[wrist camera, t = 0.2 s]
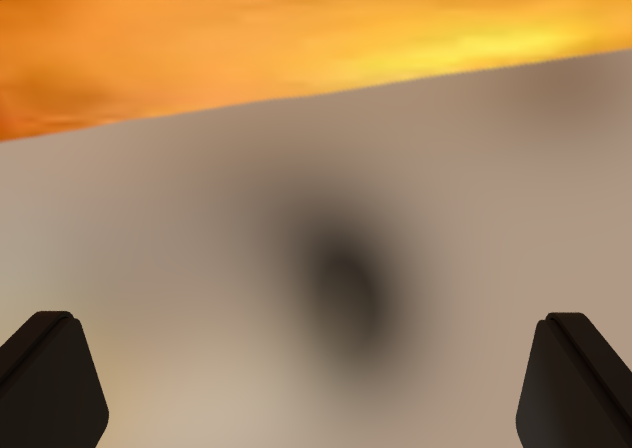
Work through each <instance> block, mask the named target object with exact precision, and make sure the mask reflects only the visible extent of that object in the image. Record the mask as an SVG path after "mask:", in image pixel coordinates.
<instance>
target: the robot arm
mask: <svg viewBox="0 0 632 448" xmlns="http://www.w3.org/2000/svg"><path fill="white" fill-rule="evenodd" d="M108 419H109V411H108V407H107V404H106V401H105V398H104V394H103V391H102V388H101V385H100V382H99V379H98V376H97V372H96V369H95V366H94V363H93V360H92V357H91V354H90V350H89V347H88V344H87V341H86V338H85V335H84V332H83V329H82V325H81V323H80V321H79V320H78V319H75V318H74V317H73V315H72V314H71V313H70V312H67V311H40V312H36V313H35V314H34V315H32V316H31V317H30V318H29V319H28V320H27V321H26V322H25V323H24V324H23V325H22V326H21V327H20V328H19V329H18V330H17V331H16V332H15V333H14V334H13V335H12V336H11V337H10V338H9V339H8V340H7V341H6V342H5V343H4V344H3V345H2V346H1V347H0V448H95V447H96V445H97V444H98V441H99V440H100V438H101V436H102V434H103V433H104V431H105V429H106V427H107V424H108ZM516 429H517V433H518V436H519V438H520V441H521V443H522V445H523V448H632V372H631V371H630V369H629V368H628V367H627V366H626V365H625V363H624V362H623V361H622V359H621V358H620V357H619V356H618V355H617V353H616V352H615V351H614V350H613V349H612V347H611V346H610V345H609V344H608V342H607V341H606V340H605V339H604V337H603V336H602V335H601V334H600V332H599V331H598V330H597V329H596V328H595V326H594V325H593V324H592V323H591V322H590V320H589V319H588V318H587V317H586V316H585V315H584V314H582V313H549V314H548V315H547V316H546V319H545V320H540V321H539V322H538V323H537V326H536V330H535V335H534V339H533V343H532V348H531V352H530V357H529V361H528V365H527V370H526V374H525V379H524V383H523V387H522V392H521V396H520V401H519V405H518V410H517V414H516Z"/></svg>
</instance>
